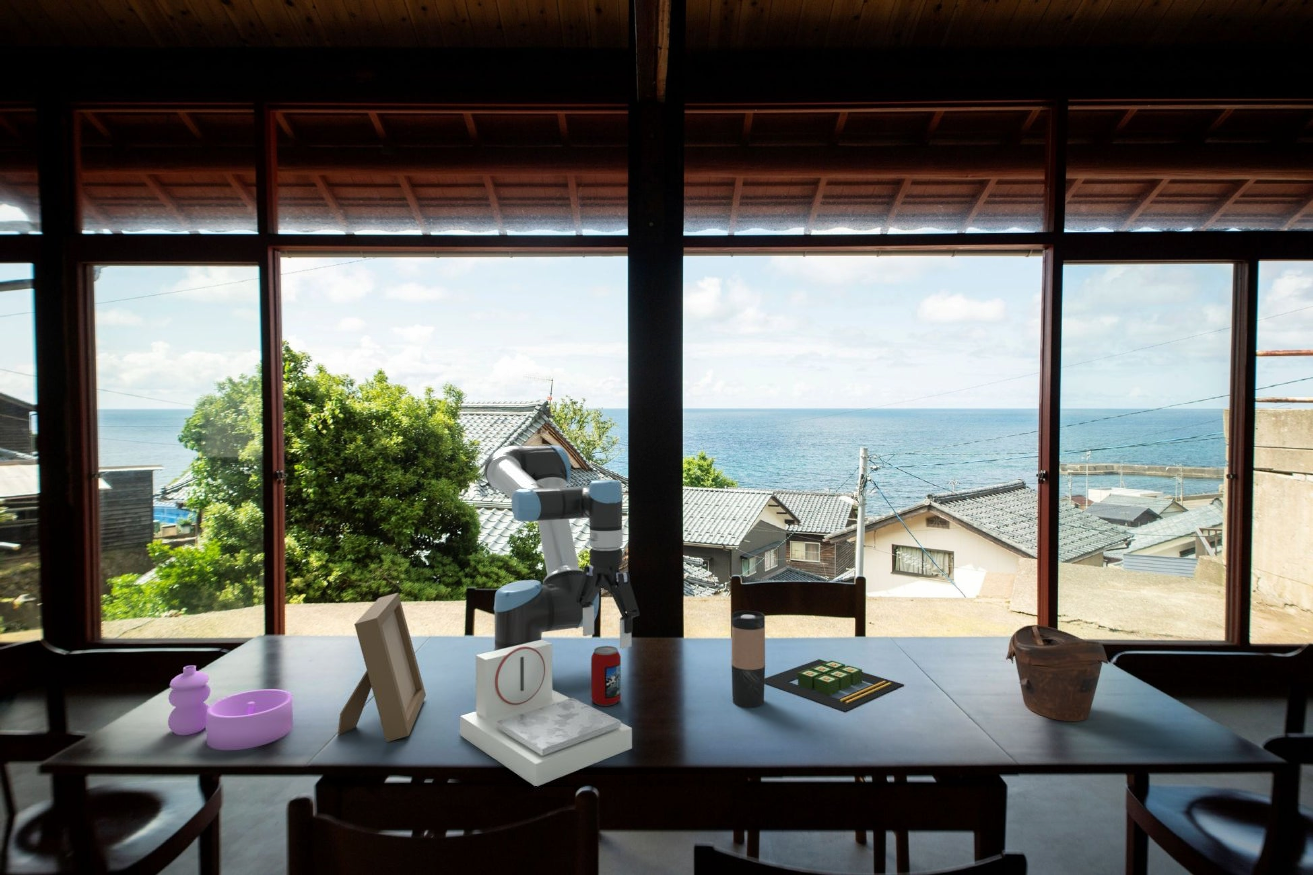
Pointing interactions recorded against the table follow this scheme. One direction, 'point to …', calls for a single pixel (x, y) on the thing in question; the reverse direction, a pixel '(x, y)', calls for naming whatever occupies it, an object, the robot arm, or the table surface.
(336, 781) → the table surface
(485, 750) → the scale
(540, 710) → the weighing pan
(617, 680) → the beverage can
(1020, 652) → the case
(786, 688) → the sushi
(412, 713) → the photo frame
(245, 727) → the container set
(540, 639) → the robot arm
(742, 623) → the travel mug
